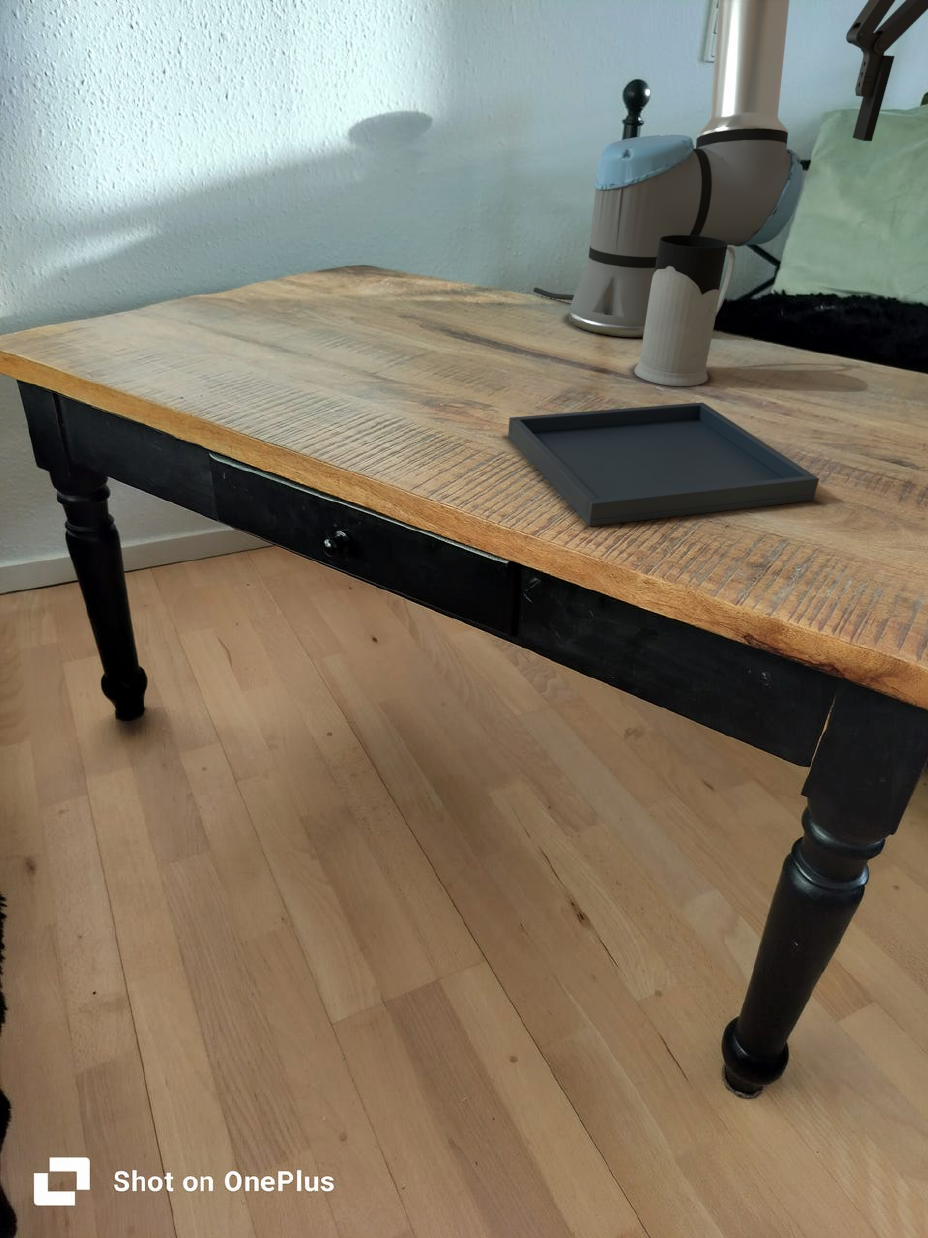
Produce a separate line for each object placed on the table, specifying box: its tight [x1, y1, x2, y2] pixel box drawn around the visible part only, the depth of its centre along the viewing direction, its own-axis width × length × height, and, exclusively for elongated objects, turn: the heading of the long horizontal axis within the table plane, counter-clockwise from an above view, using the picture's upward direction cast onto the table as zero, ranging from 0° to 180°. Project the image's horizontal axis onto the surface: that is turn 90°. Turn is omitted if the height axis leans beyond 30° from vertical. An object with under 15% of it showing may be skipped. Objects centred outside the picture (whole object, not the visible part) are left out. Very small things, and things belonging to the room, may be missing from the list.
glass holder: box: [634, 235, 736, 387], centre depth 102 cm, size 9×14×15 cm, turn 135°
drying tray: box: [507, 401, 820, 527], centre depth 80 cm, size 20×22×2 cm
